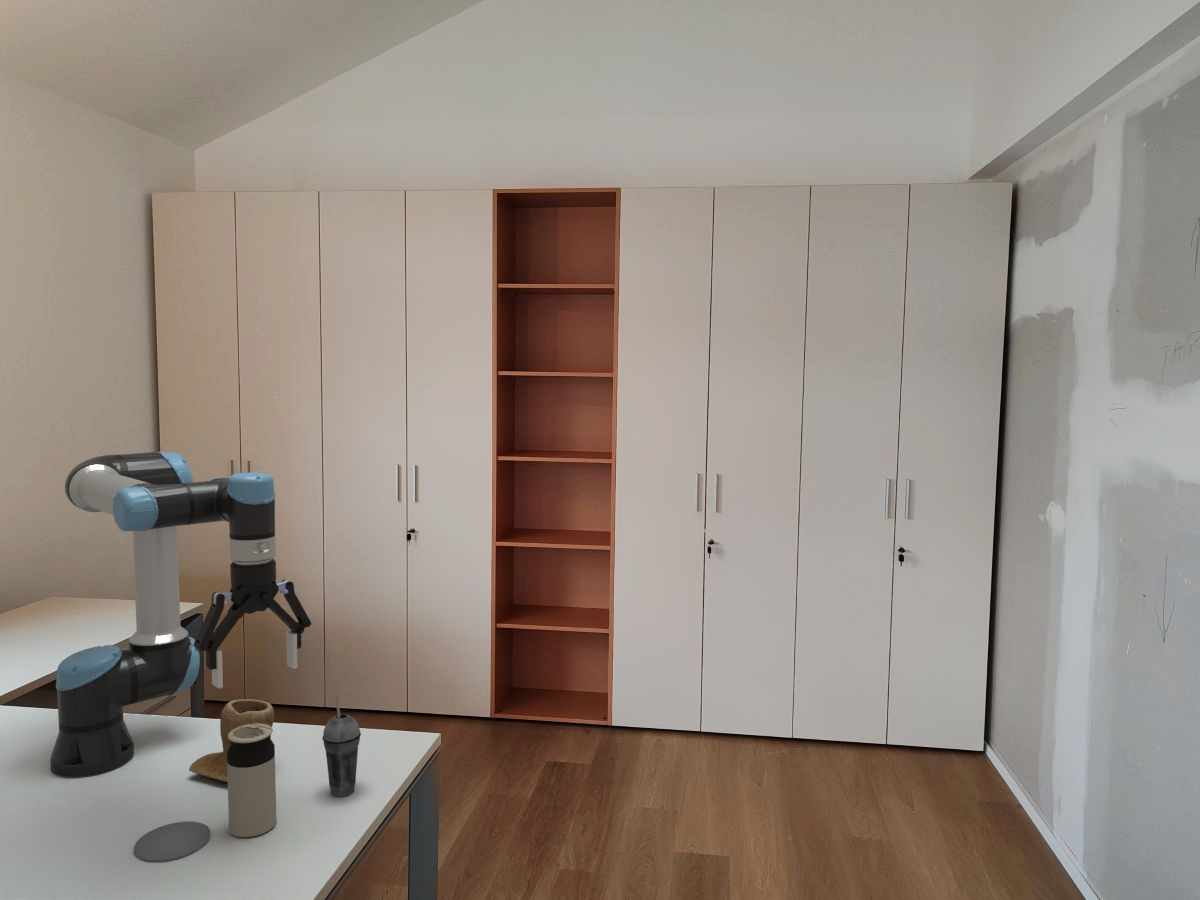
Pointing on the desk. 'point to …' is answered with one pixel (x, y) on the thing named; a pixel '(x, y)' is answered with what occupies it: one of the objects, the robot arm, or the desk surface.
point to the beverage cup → (341, 752)
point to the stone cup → (231, 718)
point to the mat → (172, 841)
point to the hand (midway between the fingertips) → (256, 676)
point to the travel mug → (251, 780)
